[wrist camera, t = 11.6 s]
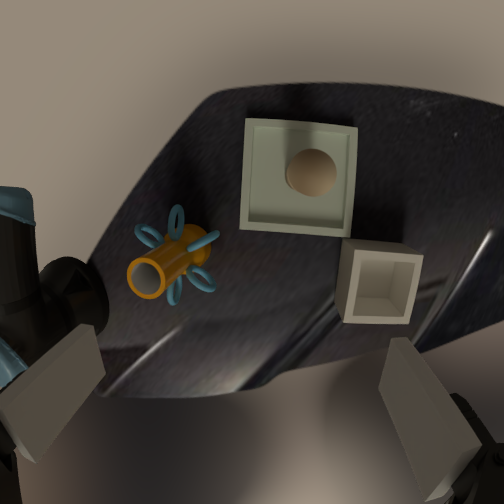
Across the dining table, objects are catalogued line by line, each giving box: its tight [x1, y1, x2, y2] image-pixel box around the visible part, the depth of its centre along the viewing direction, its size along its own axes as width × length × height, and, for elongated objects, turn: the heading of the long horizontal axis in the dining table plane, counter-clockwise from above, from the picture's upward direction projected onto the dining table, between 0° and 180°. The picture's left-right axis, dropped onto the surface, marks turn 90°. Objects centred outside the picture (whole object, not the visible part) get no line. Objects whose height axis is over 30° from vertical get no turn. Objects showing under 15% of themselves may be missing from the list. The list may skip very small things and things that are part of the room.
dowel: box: [285, 149, 337, 197], centre depth 29 cm, size 4×4×16 cm
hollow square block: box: [334, 238, 423, 324], centre depth 36 cm, size 9×9×7 cm
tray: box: [240, 118, 358, 238], centre depth 36 cm, size 14×14×2 cm
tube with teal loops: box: [127, 204, 220, 305], centre depth 33 cm, size 12×10×15 cm
